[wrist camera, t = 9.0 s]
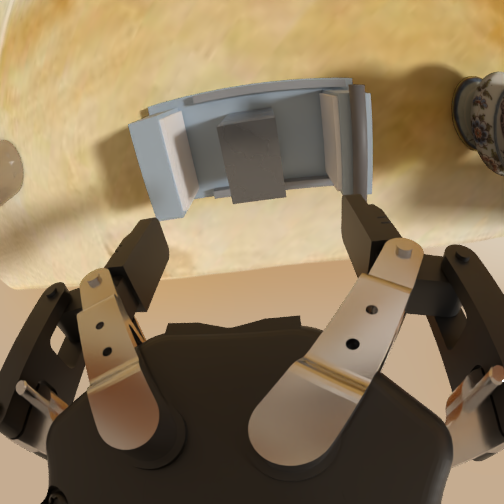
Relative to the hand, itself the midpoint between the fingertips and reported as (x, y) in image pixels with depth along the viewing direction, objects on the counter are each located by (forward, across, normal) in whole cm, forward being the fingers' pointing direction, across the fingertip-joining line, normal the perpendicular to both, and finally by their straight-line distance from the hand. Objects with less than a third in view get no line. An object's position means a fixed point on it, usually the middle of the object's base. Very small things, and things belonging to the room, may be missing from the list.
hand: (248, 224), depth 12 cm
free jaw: (+17, -8, 0) cm, 19 cm away
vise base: (+18, 0, 0) cm, 18 cm away
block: (+17, 0, 0) cm, 17 cm away
